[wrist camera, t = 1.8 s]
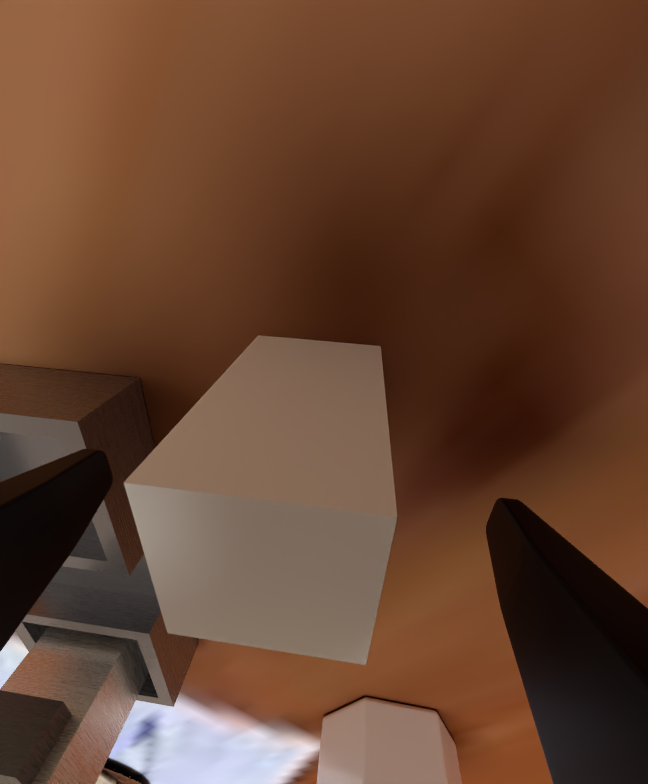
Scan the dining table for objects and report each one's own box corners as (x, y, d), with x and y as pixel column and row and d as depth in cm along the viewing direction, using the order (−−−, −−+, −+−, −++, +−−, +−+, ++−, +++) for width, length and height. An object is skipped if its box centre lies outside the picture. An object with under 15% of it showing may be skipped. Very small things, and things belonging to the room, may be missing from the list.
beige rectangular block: (380, 345, 11) (397, 516, 5) (363, 472, 13) (359, 694, 7) (258, 335, 11) (123, 482, 5) (263, 460, 14) (176, 663, 7)
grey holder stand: (139, 378, 12) (-208, 624, 5) (198, 644, 21) (102, 886, 13) (-37, 360, 13) (-590, 559, 5) (90, 626, 21) (-61, 850, 14)
